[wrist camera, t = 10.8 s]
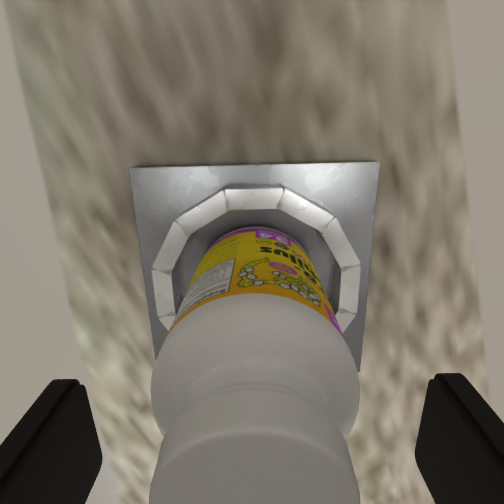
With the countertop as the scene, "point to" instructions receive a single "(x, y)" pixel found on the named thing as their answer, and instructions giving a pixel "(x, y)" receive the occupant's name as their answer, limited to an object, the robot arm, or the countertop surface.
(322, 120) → the countertop surface
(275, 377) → the supplement bottle
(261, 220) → the ring plate
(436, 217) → the countertop surface
